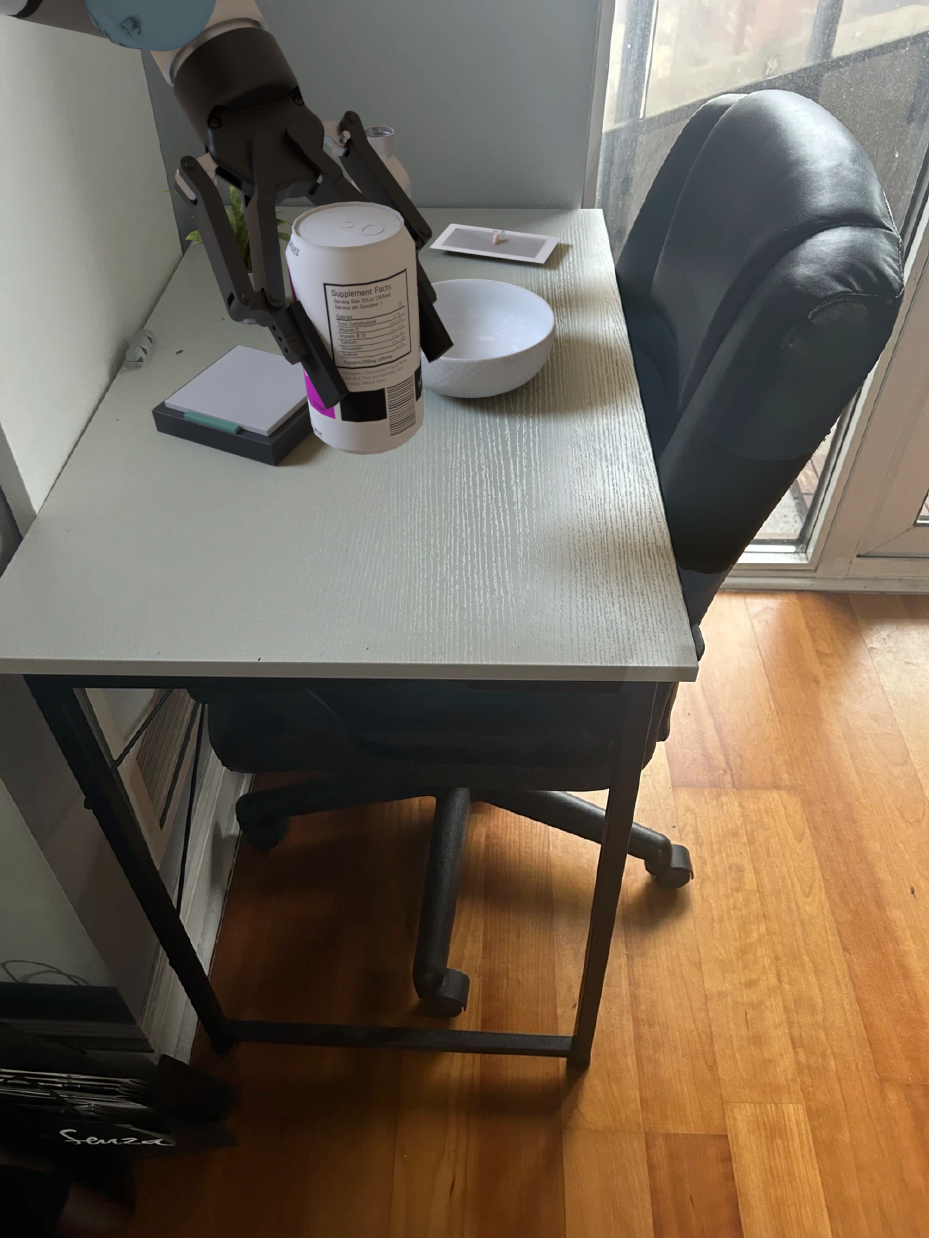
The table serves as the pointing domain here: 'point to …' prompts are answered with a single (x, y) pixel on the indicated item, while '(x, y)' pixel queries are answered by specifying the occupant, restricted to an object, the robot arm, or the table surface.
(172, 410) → the scale
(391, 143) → the silver metal bottle
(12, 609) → the table surface
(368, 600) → the table surface
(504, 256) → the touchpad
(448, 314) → the cereal bowl
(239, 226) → the house plant
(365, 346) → the supplement can
